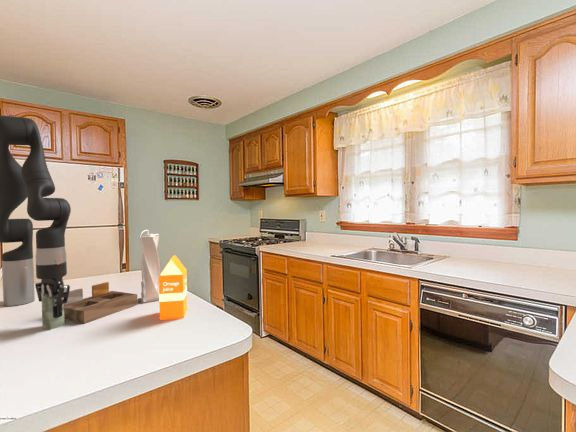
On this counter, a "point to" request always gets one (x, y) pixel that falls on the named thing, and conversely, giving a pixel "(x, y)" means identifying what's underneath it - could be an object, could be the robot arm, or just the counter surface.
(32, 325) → the counter surface
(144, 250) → the skyscraper
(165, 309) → the orange juice
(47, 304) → the green plug
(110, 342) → the counter surface
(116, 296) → the socket block
